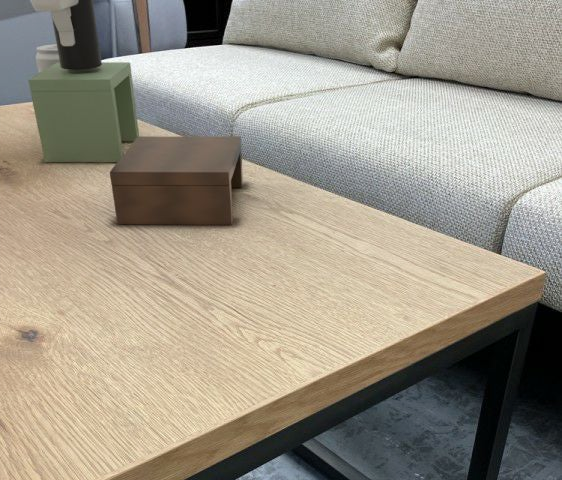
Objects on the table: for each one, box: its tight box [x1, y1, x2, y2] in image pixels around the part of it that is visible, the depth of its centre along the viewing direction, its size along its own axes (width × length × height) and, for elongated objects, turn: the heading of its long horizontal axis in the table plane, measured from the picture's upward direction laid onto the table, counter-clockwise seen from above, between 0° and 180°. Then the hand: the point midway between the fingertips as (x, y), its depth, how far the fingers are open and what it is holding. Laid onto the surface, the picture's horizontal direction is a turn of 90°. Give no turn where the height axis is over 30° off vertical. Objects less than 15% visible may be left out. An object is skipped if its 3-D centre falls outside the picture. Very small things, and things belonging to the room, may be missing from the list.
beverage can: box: [35, 43, 60, 74], centre depth 112 cm, size 6×6×12 cm
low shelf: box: [109, 136, 244, 226], centre depth 83 cm, size 13×14×6 cm
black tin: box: [50, 0, 103, 70], centre depth 95 cm, size 6×6×9 cm
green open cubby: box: [28, 61, 140, 163], centre depth 101 cm, size 11×12×11 cm
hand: (76, 41), depth 95 cm, fingers closed on black tin, 5 cm apart
